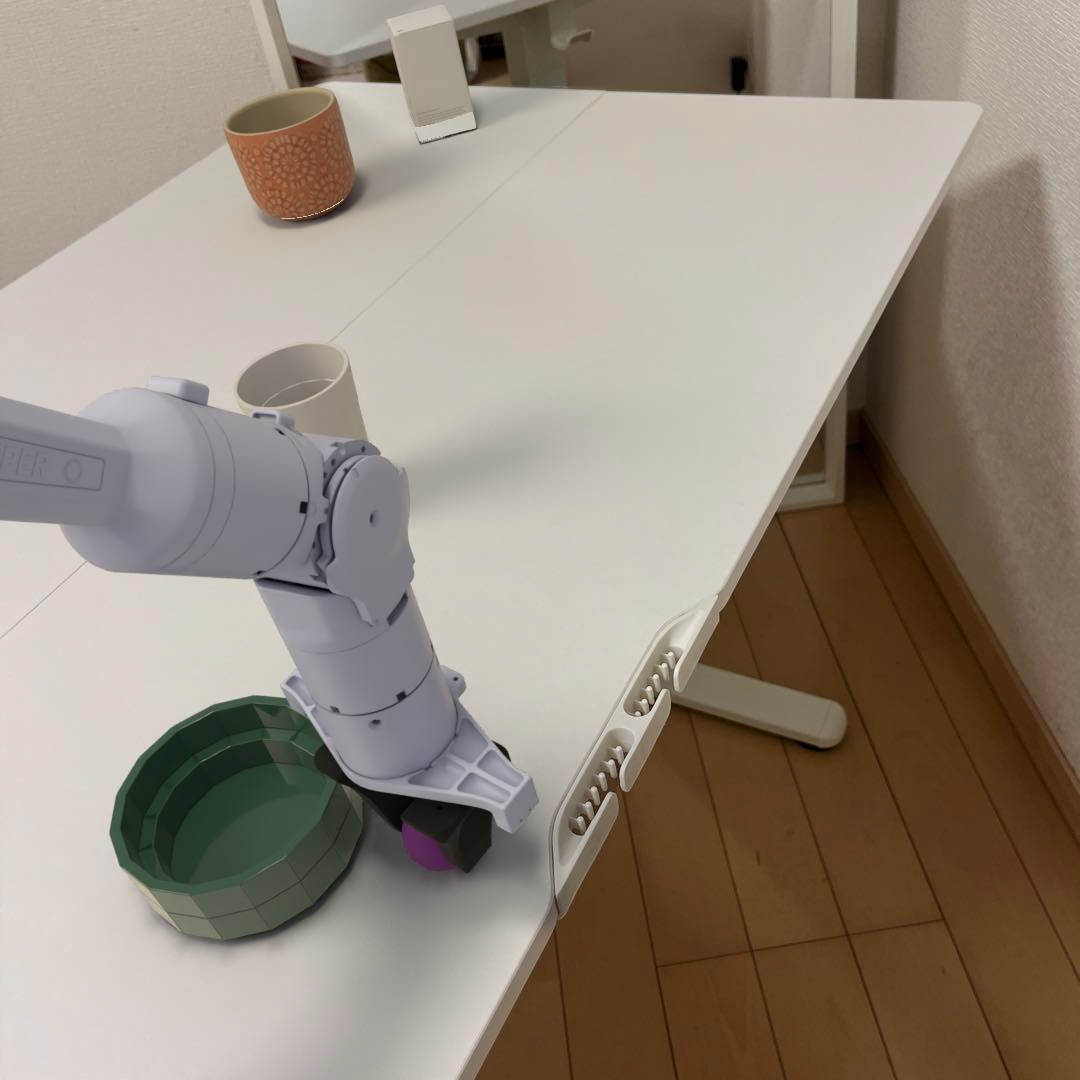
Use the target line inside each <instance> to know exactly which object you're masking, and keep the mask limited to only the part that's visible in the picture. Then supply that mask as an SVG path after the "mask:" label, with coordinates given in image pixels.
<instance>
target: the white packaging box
mask: <svg viewBox="0 0 1080 1080" xmlns="http://www.w3.org/2000/svg"><path fill="white" fill-rule="evenodd" d="M385 24H386V28H387V32H388V37H389V40H390V45H391V48H392V52H393V57H394V61H395V64H396V68H397V72H398V75H399V79H400V84H401V87H402V91H403V95H404V100H405V102H406V103H405V104H406V106H407V110H409V111H408V114H410V115H409V118H410V117H411V119H412V121H413V124H414V125H415V127H421V126H426V125H431V124H435V123H439V122H442V121H445V120H448V119H453V118H455V117H457V116H461V115H463V114H466V113H469V112H473V111H474V106H473V103H472V98H471V94H470V88H469V85H468V80H467V76H466V70H465V66H464V62H463V58H462V53H461V49H460V44H459V39H458V35H457V31H456V26H455V21H454V18H453V16H452V15H451V13H450V12H449V10H448V8H447V7H446V5H445V4H444V3H442V4H439V5H438V4H437V5H434V6H430V7H427V8H426V7H425V8H422V9H419V10H415V11H412V12H409V13H405V14H401V15H398V16H394V17H391V18H387V19H386V20H385ZM411 119H410V120H411ZM453 134H454V133H453ZM440 139H444V138H443V137H441V138H440V136H439V138H437V139H436V137H435V139H432V138H431V140H429V141H428V139H427V141H426V140H425V142H424V140H423V142H422V141H421V143H420V144H424V143H428V142H432V141H437V140H440Z"/></svg>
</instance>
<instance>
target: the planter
mask: <svg viewBox="0 0 1080 1080" xmlns="http://www.w3.org/2000/svg"><path fill="white" fill-rule="evenodd" d="M222 128H223V134H224V136H225V139H226V141H227V144H228V147H229V149H230V151H231V154H232V156H233V158H234V161H235V164H236V165H237V168H238V170H239V172H240V174H241V177H242V179H243V181H244V184H245V187H246V189H247V191H248V193H249V195H250V197H251V199H252V201H253V202H254V203H255V205H256V206H257V207H258V208H259V209H260V210H261V211H263V212H264V214H267V215H269V216H271V217H272V218H275V219H279V220H281V221H286V222H302V221H308V220H313V219H316V218H319V217H322V216H325V215H326V214H327V215H328V214H329V213H331V212H332V211H334V210H336V209H337V208H338V207H339V206H340V205H341V204H342V203H344V201H346V199H347V197H348V196H349V194H350V193H351V191H352V189H353V187H354V183H355V179H356V178H355V177H356V169H355V163H354V157H353V154H352V150H351V146H350V142H349V138H348V135H347V130H346V126H345V122H344V119H343V115H342V111H341V108H340V104H339V102H338V99H337V97H336V95H335V93H334V92H333V91H332V90H330V89H328V88H324V87H319V86H305V87H304V86H303V87H295V88H289V89H284V90H280V91H276V92H273V93H269V94H265V95H263V96H260V97H258V98H255V99H253V100H251V101H249V102H247V103H245V104H243V105H241V106H239V107H237V108H236V109H234V111H232V112H231V113H229V115H228V116H227V117H225V119H224V121H223V124H222ZM349 192H350V193H349ZM347 195H348V196H347ZM346 196H347V197H346ZM345 197H346V198H345ZM344 198H345V199H344ZM342 199H344V200H343V201H341V200H342ZM340 201H341V202H340ZM338 202H340V203H339V204H337V203H338ZM335 204H337V205H335ZM333 205H335V206H334V207H332V206H333ZM330 207H332V208H330ZM327 208H330V209H328V210H326V209H327ZM323 210H325V211H323ZM321 211H323V212H321ZM319 212H320V213H319ZM315 213H318V214H315ZM311 214H314V215H311ZM308 215H311V216H308ZM303 216H307V217H303ZM276 217H277V218H276ZM297 217H302V218H297ZM281 218H295V219H281Z"/></svg>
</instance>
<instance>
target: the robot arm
mask: <svg viewBox="0 0 1080 1080" xmlns="http://www.w3.org/2000/svg"><path fill="white" fill-rule="evenodd" d="M209 396H210V388H209V387H208V385H206V384H204V383H201V382H196V381H194V380H190V379H187V378H182V377H181V378H180V377H172V376H162V375H161V376H160V375H151V376H149V377H148V379H147V383H146V388H145V387H136V386H133V387H123V388H118V389H115V390H112V391H109V392H106V393H104V394H102V395H101V396H98V397H97V398H95V399H94V400H92V401H90V403H88V404H87V405H85V406H84V407H83V408H82V409H81V410H80V411H79V412H78V413H77V415H74V414H71V413H66V412H63V411H59V410H56V409H51V408H47V407H43V406H40V405H36V404H32V403H27V402H24V401H21V400H16V399H13V398H10V397H5V396H1V395H0V521H2V522H17V523H33V524H34V523H35V524H50V525H58V527H59V529H60V531H61V533H62V534H63V536H64V538H65V540H66V541H67V543H68V544H69V545H70V547H71V548H72V549H73V550H74V551H75V552H76V553H77V554H78V555H79V556H80V557H81V558H83V559H84V560H85V561H86V562H88V563H89V564H91V565H93V566H94V567H96V568H98V569H101V570H104V571H107V572H111V573H120V574H137V575H138V574H140V575H157V576H177V577H190V578H191V577H192V578H212V579H231V580H243V581H244V580H252V581H253V584H254V585H255V587H256V589H257V591H258V593H259V594H260V598H261V599H262V602H263V603H264V605H265V607H266V609H267V611H268V613H269V615H270V617H271V620H272V621H273V623H274V626H275V627H276V629H277V631H278V633H279V635H280V637H281V639H282V642H283V644H284V645H285V647H286V649H287V651H288V654H289V656H290V657H291V660H292V662H293V664H294V665H295V667H296V668H295V669H294V670H293V671H292V672H291V673H290V674H289V675H288V676H287V677H286V678H285V679H283V681H282V682H280V684H279V687H280V689H281V691H282V693H283V695H284V698H286V699H287V701H288V702H289V704H290V706H291V708H292V709H293V710H295V711H296V712H298V713H300V714H302V715H307V717H308V718H309V720H310V721H311V723H312V724H313V726H314V727H315V729H316V730H317V732H318V733H319V735H320V736H321V738H322V740H323V741H324V743H323V744H322V745H321V747H320V748H319V749H318V750H317V751H316V753H315V755H314V765H315V767H316V769H317V770H318V771H320V772H321V773H323V774H324V775H326V776H328V777H329V778H331V779H333V780H334V781H336V782H338V783H340V784H342V785H345V786H348V787H350V788H352V789H353V790H354V791H355V792H356V793H358V794H359V795H360V796H361V797H362V800H364V801H365V802H366V803H367V804H368V805H369V806H370V807H371V808H372V809H373V810H374V811H375V813H377V815H378V816H380V818H381V819H383V821H384V822H385V823H386V824H387V825H389V827H391V828H392V829H394V830H395V831H396V832H399V834H401V835H402V825H403V822H404V823H406V824H407V825H409V826H411V827H412V828H414V829H416V830H417V831H419V832H421V833H422V834H424V835H426V836H427V837H429V838H431V839H433V840H435V841H436V843H437V844H438V845H439V847H440V848H441V850H442V851H443V853H444V854H445V856H446V857H447V858H448V860H449V861H450V862H451V863H452V864H453V865H454V866H456V867H457V868H456V869H458V870H460V871H462V872H464V873H465V874H470V873H471V872H472V871H473V869H474V868H475V867H476V866H477V865H478V863H479V862H480V860H481V859H482V858H483V857H484V856H485V855H486V853H487V852H488V851H489V849H490V848H491V847H492V837H493V833H492V832H493V819H494V822H495V825H496V826H497V827H498V828H500V829H502V830H504V831H505V832H507V833H509V834H512V835H513V834H515V832H516V831H517V830H518V828H520V826H521V825H522V824H523V823H524V822H525V820H527V818H528V817H529V816H530V814H531V813H532V811H533V810H534V809H535V807H537V805H538V804H539V802H540V800H539V796H538V793H537V789H536V785H535V784H534V781H533V777H532V775H530V774H529V773H527V772H526V771H523V769H520V768H519V767H518V766H516V765H515V764H514V763H513V762H512V760H511V759H512V758H511V756H510V753H509V751H508V750H507V747H505V746H504V745H502V744H500V743H498V742H496V740H495V741H494V740H492V738H490V737H489V735H488V734H487V733H486V732H485V730H483V728H482V727H481V726H480V724H479V723H478V722H477V721H476V720H475V718H474V717H473V716H472V715H471V714H470V712H469V711H468V710H467V708H466V707H465V706H464V705H463V704H462V703H461V701H460V700H459V699H460V698H461V696H462V695H463V694H464V693H465V691H466V690H467V682H466V680H465V676H463V674H462V673H460V672H458V671H456V670H454V669H452V668H450V667H448V666H446V665H443V664H441V663H440V660H439V658H438V656H437V653H436V650H435V647H434V644H433V641H432V639H431V636H430V633H429V630H428V627H427V625H426V621H425V619H424V616H423V614H422V611H421V609H420V605H419V602H418V600H417V598H416V595H415V591H414V589H413V587H412V582H413V580H414V578H415V569H414V565H415V563H416V559H415V557H414V554H413V551H412V547H411V545H410V539H409V521H410V512H411V511H410V509H411V508H410V507H411V502H410V501H411V496H410V486H409V479H408V474H407V471H406V468H405V466H400V467H399V468H398V467H397V466H395V465H394V464H393V462H391V460H390V459H388V458H387V457H384V456H383V455H381V454H382V452H381V451H380V450H379V448H378V447H377V446H376V445H374V444H373V443H372V442H370V441H369V442H367V441H365V440H358V439H350V438H342V437H333V436H325V435H316V434H308V433H300V432H298V431H296V430H295V429H294V426H295V419H294V417H293V416H292V415H291V414H288V413H284V412H281V411H277V410H269V409H260V408H256V409H254V410H252V412H251V413H250V416H246V415H244V414H243V413H238V412H234V411H231V410H227V409H223V408H220V407H216V406H212V405H209V403H208V402H209Z"/></svg>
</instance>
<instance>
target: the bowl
mask: <svg viewBox="0 0 1080 1080" xmlns="http://www.w3.org/2000/svg"><path fill="white" fill-rule="evenodd" d="M323 743H324V741H323V740H322V738H321V736H320V735H319V733H318V732H317V730H316V729H315V727H314V726H313V724H312V723H311V721H310V720H309V718H308V717H307V715H302V714H300V713H298V712H296V711H295V710H293V709H292V708H291V706H290V704H289V702H288V701H287V699H286V697H283V696H282V697H281V696H272V695H271V696H270V695H259V694H252V695H248V696H244V697H243V696H242V697H239V698H235V699H230V700H226V701H222V702H218V703H217V702H216V703H214V704H211V705H209V706H208V707H205V708H204V709H202V710H200V711H198V712H196V713H194V714H193V715H191V716H189V717H187V718H185V719H183V720H181V721H180V722H178V723H175V724H174V725H173V726H171V727H169V729H168V730H166V732H164V733H163V734H162V735H161V736H160V737H159V738H158V739H157V740H155V742H154V743H152V744H151V745H150V746H149V747H148V748H147V749H146V750H145V751H143V752H142V753H141V755H139V757H137V759H136V761H135V762H134V764H133V766H132V767H131V769H130V771H129V772H128V774H127V776H126V777H125V779H124V780H123V782H122V784H121V785H120V787H119V789H118V791H117V792H116V795H115V797H114V804H113V808H112V814H111V819H110V826H109V830H108V835H109V838H110V842H111V845H112V847H113V850H114V853H115V856H116V860H117V862H118V866H119V867H120V869H121V870H122V872H123V873H124V874H125V875H126V877H127V878H128V879H129V880H130V882H132V884H133V885H134V886H135V887H136V889H137V890H138V891H139V893H140V894H141V895H142V896H143V898H145V900H146V901H147V902H148V904H149V905H150V906H151V907H152V909H153V910H154V911H155V912H156V913H157V914H158V915H159V916H161V917H162V918H163V919H164V920H166V921H167V922H168V923H169V924H171V925H172V926H173V927H174V928H175V929H177V931H179V932H181V933H183V934H187V935H191V936H192V935H193V936H198V937H203V938H209V939H215V940H222V941H224V940H225V941H228V940H231V939H232V940H233V939H236V938H241V937H245V936H249V935H250V936H251V935H253V934H258V933H262V932H263V933H264V932H266V931H270V930H274V929H275V928H277V927H279V926H280V925H282V924H283V923H285V922H287V921H289V920H290V919H291V918H293V917H295V916H297V915H298V914H300V913H302V912H303V911H305V910H307V909H308V908H310V907H312V906H313V905H314V904H315V903H317V901H318V900H319V899H320V898H321V896H322V895H323V894H324V893H325V892H326V891H327V890H328V889H329V887H330V886H331V885H332V884H333V883H334V881H336V880H337V878H339V876H340V875H341V873H343V872H344V870H345V869H346V868H347V867H348V864H349V862H350V860H351V857H352V855H353V851H354V850H355V847H356V846H357V843H358V840H359V838H360V835H361V833H362V832H363V831H362V830H363V826H364V822H363V820H364V818H363V817H364V816H363V798H362V797H361V796H360V795H359V794H358V793H356V792H355V791H354V790H353V789H352V788H350V787H348V786H345V785H342V784H340V783H338V782H336V781H334V780H333V779H331V778H329V777H328V776H326V775H324V774H323V773H321V772H320V771H318V770H317V769H316V767H315V765H314V755H315V753H316V751H317V750H318V749H319V748H320V747H321V745H322V744H323Z"/></svg>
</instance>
